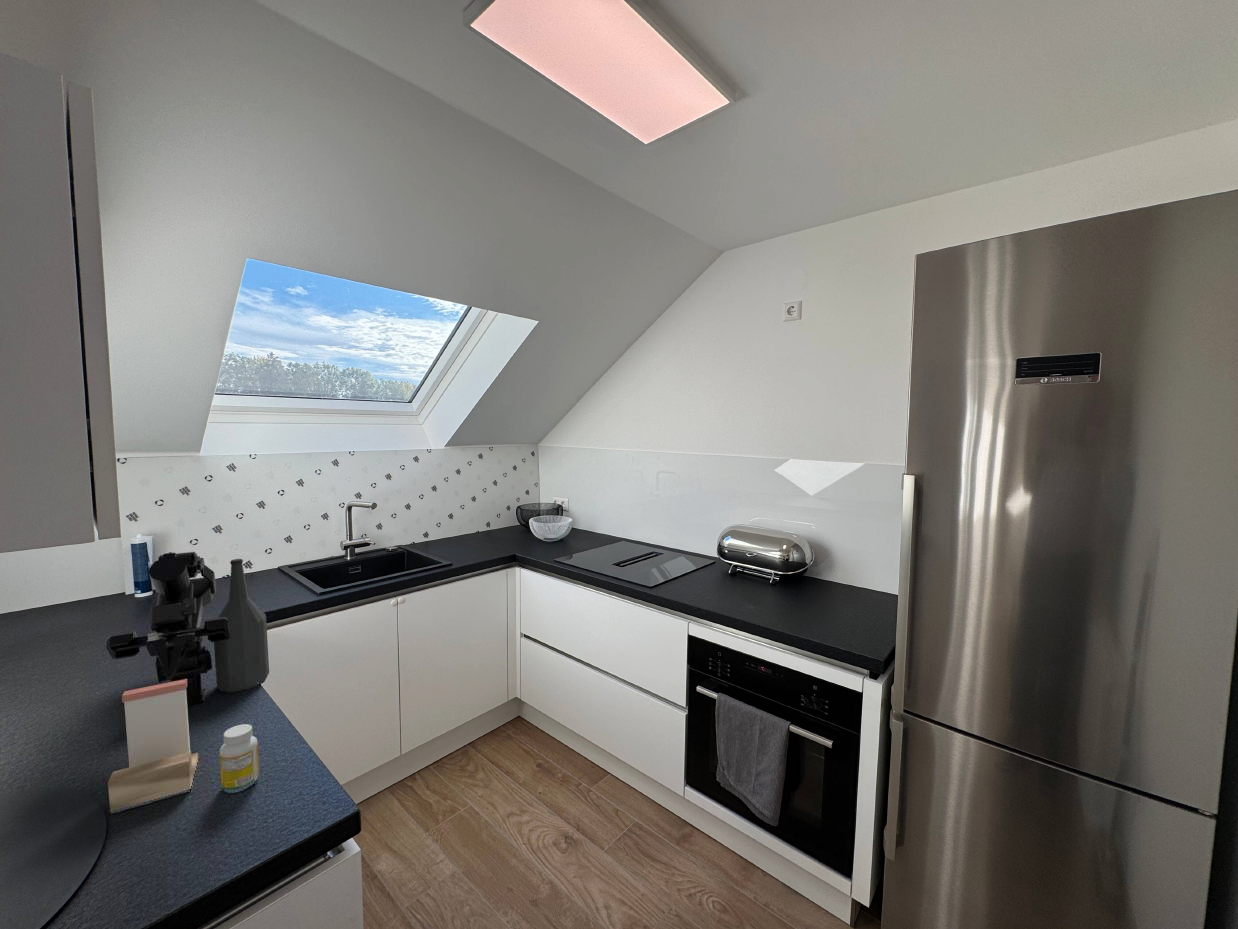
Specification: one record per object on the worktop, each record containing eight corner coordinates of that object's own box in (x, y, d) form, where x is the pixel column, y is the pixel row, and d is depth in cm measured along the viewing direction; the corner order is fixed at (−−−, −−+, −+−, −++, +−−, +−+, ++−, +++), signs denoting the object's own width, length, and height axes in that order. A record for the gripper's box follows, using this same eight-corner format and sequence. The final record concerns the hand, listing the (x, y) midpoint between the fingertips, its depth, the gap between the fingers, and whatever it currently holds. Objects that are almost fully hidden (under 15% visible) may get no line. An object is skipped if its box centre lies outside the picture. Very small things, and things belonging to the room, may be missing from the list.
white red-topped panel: (130, 770, 93) (124, 691, 92) (192, 754, 97) (186, 678, 96) (128, 775, 91) (121, 695, 90) (190, 759, 96) (185, 683, 95)
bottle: (228, 697, 121) (220, 567, 118) (209, 686, 126) (200, 561, 123) (277, 679, 129) (271, 557, 127) (257, 669, 134) (250, 552, 132)
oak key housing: (126, 779, 93) (123, 749, 93) (198, 760, 98) (196, 731, 98) (110, 815, 85) (107, 782, 84) (190, 792, 90) (188, 760, 89)
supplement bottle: (245, 795, 89) (242, 740, 88) (213, 794, 89) (210, 740, 89) (266, 773, 95) (263, 721, 94) (236, 773, 95) (233, 721, 94)
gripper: (104, 594, 102) (92, 673, 93) (225, 579, 112) (224, 649, 103) (118, 621, 109) (107, 697, 101) (231, 604, 119) (230, 672, 111)
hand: (169, 677), depth 104 cm, fingers closed
